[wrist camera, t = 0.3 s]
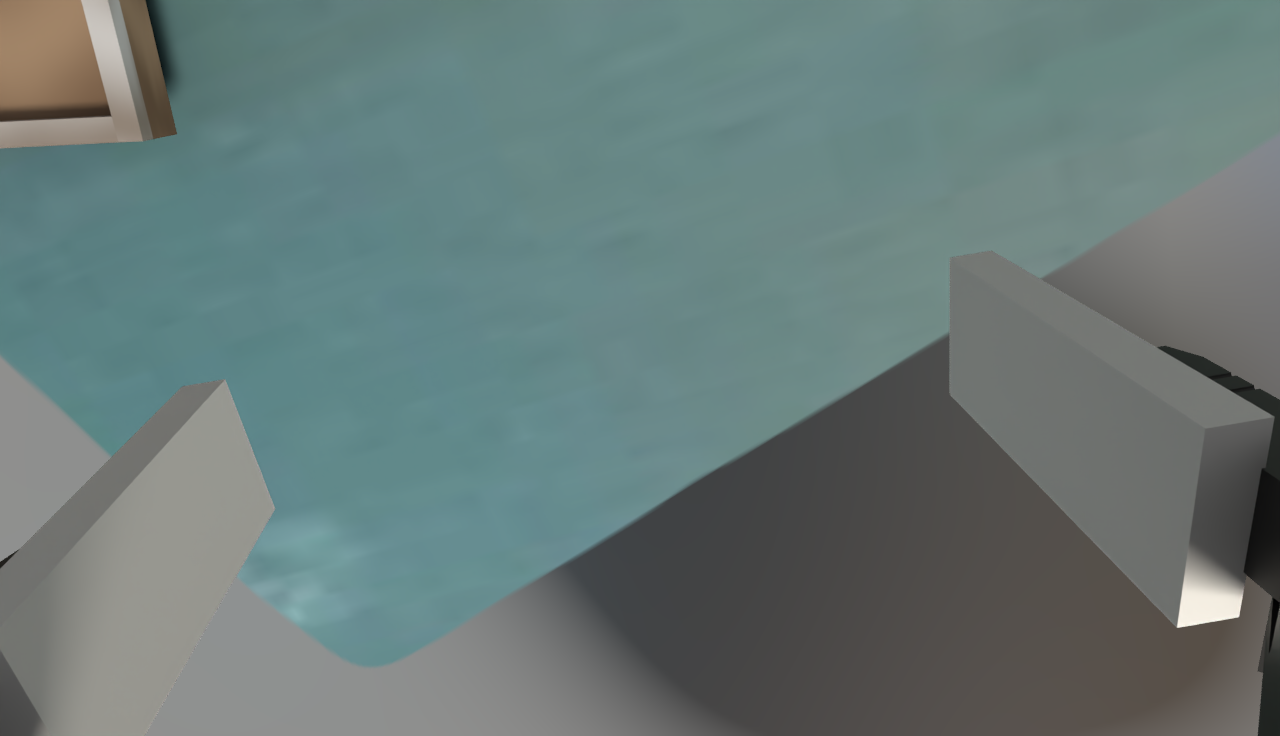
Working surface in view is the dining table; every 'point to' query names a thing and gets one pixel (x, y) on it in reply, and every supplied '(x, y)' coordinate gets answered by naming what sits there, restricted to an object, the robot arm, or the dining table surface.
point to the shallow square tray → (80, 74)
